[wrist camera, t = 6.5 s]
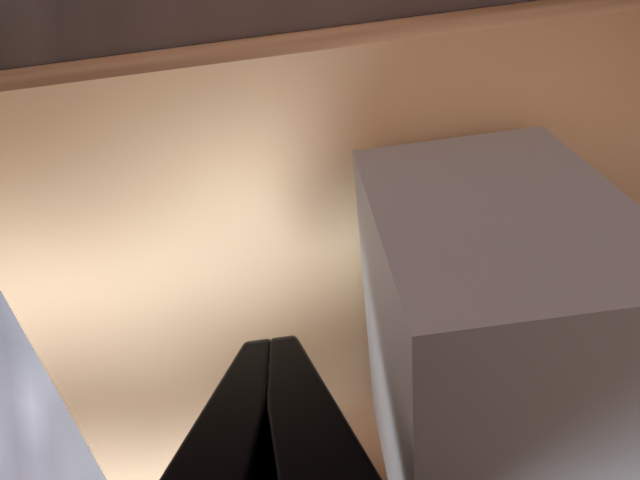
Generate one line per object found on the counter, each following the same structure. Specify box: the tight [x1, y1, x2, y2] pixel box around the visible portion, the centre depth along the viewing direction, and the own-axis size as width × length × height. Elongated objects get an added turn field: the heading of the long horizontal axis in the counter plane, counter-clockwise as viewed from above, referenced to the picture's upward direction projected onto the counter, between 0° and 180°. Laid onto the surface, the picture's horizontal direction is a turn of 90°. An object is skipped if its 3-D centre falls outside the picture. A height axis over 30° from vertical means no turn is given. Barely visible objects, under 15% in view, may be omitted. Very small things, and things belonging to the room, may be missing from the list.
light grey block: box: [353, 126, 640, 480], centre depth 8 cm, size 6×5×4 cm
